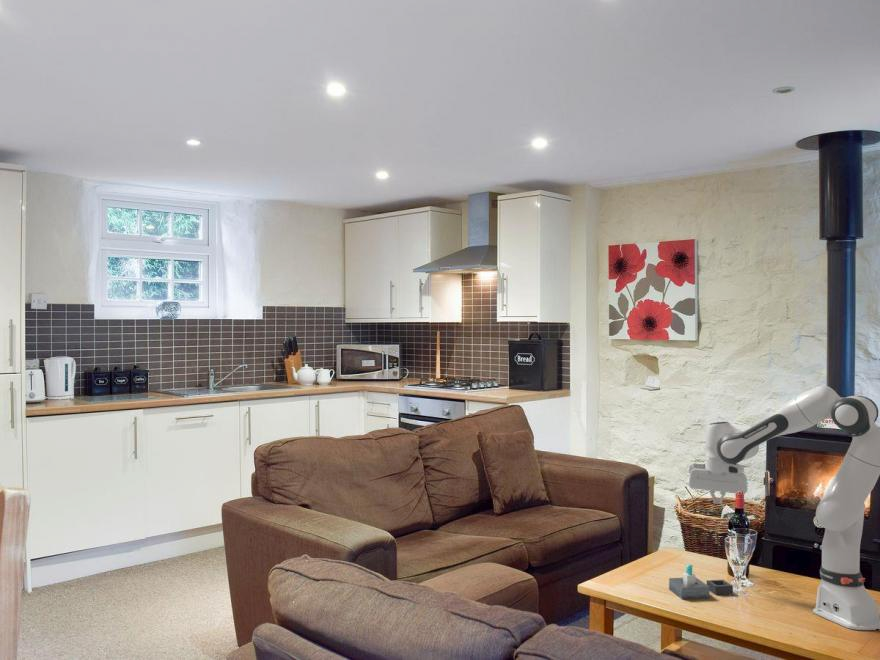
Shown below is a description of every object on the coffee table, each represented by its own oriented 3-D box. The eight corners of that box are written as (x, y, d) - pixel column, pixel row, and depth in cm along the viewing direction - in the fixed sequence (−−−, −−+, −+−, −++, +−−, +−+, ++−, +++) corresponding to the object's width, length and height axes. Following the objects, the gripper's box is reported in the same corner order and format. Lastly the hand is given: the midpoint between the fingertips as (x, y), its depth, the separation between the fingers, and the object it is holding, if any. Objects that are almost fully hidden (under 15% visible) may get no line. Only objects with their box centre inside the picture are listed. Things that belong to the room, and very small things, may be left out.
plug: (695, 595, 263) (695, 566, 263) (687, 595, 262) (687, 566, 262) (691, 592, 266) (691, 563, 266) (683, 592, 265) (683, 564, 265)
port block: (709, 598, 260) (709, 586, 260) (681, 599, 258) (682, 587, 258) (695, 588, 270) (695, 577, 270) (669, 589, 268) (669, 578, 268)
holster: (732, 594, 264) (732, 585, 264) (715, 594, 263) (715, 586, 263) (723, 588, 270) (723, 579, 270) (706, 588, 269) (706, 580, 269)
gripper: (686, 464, 279) (686, 501, 279) (745, 469, 268) (745, 508, 268) (691, 461, 285) (690, 498, 284) (748, 467, 274) (748, 505, 274)
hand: (717, 503), depth 276 cm, fingers closed
